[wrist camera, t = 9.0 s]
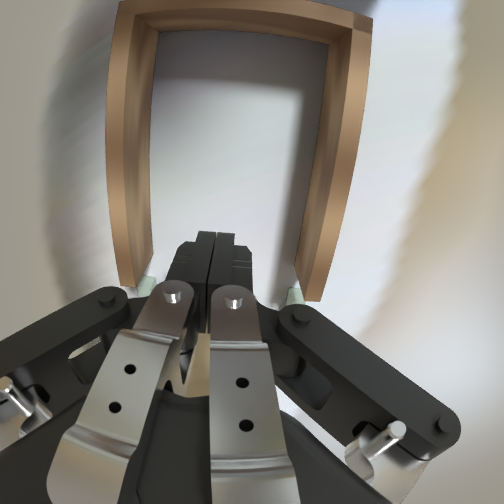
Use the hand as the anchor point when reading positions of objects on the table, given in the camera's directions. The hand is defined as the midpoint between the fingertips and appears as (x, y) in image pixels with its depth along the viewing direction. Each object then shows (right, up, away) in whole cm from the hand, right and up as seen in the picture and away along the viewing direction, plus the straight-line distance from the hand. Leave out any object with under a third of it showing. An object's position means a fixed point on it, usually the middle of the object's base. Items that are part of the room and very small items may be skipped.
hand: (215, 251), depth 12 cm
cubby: (0, +6, +3) cm, 7 cm away
